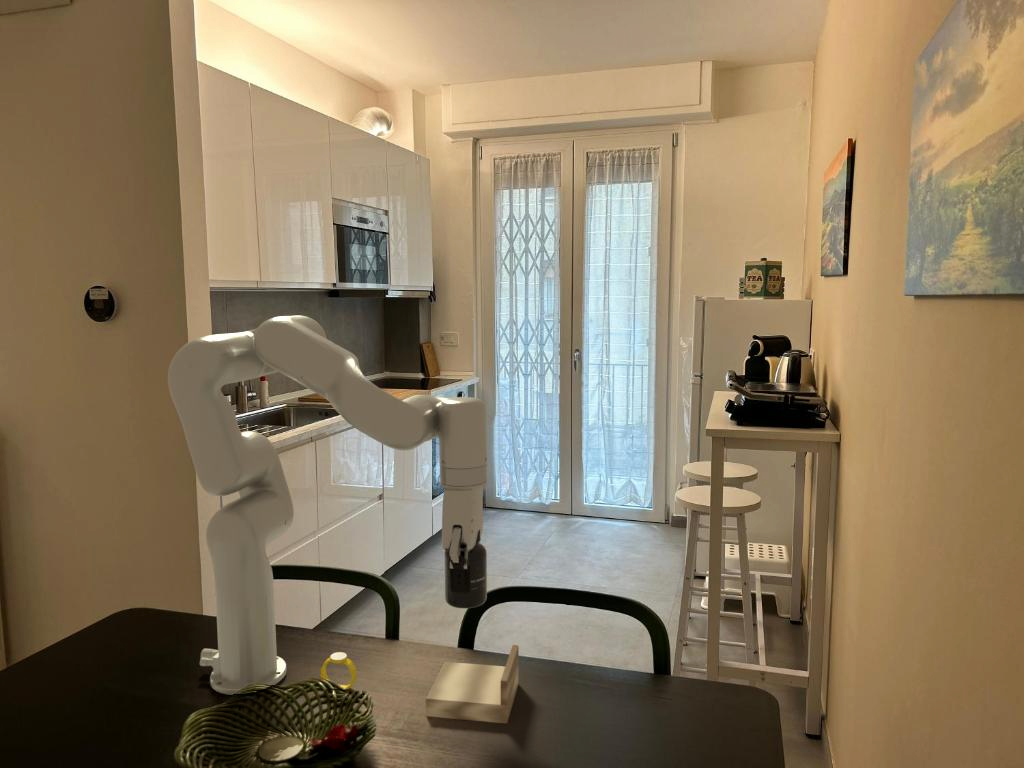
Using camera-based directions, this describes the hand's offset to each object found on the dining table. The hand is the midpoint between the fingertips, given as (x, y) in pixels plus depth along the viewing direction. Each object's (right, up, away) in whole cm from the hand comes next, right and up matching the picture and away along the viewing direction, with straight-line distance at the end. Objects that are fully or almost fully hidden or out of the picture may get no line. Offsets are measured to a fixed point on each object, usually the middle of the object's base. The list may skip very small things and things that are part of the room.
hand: (466, 581), depth 121 cm
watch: (-22, -20, +6) cm, 30 cm away
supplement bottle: (0, -3, 0) cm, 3 cm away
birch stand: (+1, -20, +2) cm, 20 cm away
